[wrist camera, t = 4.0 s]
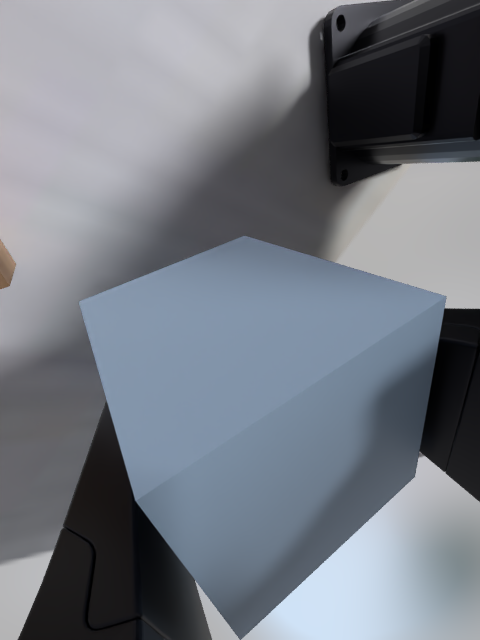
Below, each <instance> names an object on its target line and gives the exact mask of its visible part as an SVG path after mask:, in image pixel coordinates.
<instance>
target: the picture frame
mask: <svg viewBox="0 0 480 640" xmlns="http://www.w3.org/2000/svg"><path fill="white" fill-rule="evenodd" d="M15 266H16V263H15V262H14V260H13V259H12V257H11V255H10V254H9V252H8V251H7V249H6V248H5V246H4V245H3V243H2V241H1V240H0V289H2V288H5V287H8V286H10V283H11V280H12V276H13V273H14V270H15Z"/></svg>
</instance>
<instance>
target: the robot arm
mask: <svg viewBox="0 0 480 640" xmlns="http://www.w3.org/2000/svg"><path fill="white" fill-rule="evenodd" d="M336 21H337V23H338V29H337V26H336ZM324 39H325V61H326V84H327V107H328V129H329V152H330V174H331V182H332V183H333V185H335V186H345V185H348V184H351V183H353V182H356V181H358V180H361V179H364V178H366V177H369V176H372V175H374V174H377V173H379V172H382V171H385V170H387V169H390V168H393V167H395V166H398V165H400V164H410V163H443V162H474V161H475V162H477V161H480V0H391V1H381V2H371V3H361V4H351V5H341V6H339V7H337V8H335V9H333V10H331V11H330V12H329V13H328V14H327V16H326V18H325V22H324ZM341 172H342V176H341ZM340 176H341V177H340ZM419 451H420V452H421V453H422V454H423V455H425V456H426V457H427V458H428V459H429V460H431V461H432V462H433V463H434V464H435V465H437V466H438V467H439V468H440V469H441V470H443V471H444V472H445V471H446V474H447V475H448V476H449V477H451V478H452V479H453V480H454V481H455V482H457V483H458V484H459V485H460V486H461V487H463V488H464V489H465V490H466V491H468V492H469V493H470V494H471V495H472V496H473V497H475V498H476V499H477V500H478V501H480V309H446V308H444V314H443V319H442V325H441V331H440V336H439V342H438V348H437V354H436V359H435V365H434V371H433V376H432V382H431V388H430V393H429V399H428V405H427V411H426V416H425V422H424V428H423V433H422V439H421V445H420V450H419ZM63 527H64V528H63V529H62V530H61V532H60V535H59V538H58V541H57V543H56V546H55V549H54V552H53V555H52V557H51V560H50V563H49V565H48V568H47V571H46V574H45V576H44V579H43V582H42V584H41V586H40V589H39V591H38V594H37V596H36V598H35V601H34V603H33V605H32V608H31V610H30V613H29V615H28V617H27V620H26V622H25V624H24V627H23V629H22V631H21V634H20V636H19V638H18V640H212V638H211V634H210V631H209V628H208V624H207V621H206V617H205V614H204V610H203V607H202V603H201V600H200V597H199V593H198V590H197V586H196V583H195V579H194V578H193V577H192V575H191V574H190V573H189V571H188V570H187V569H186V567H185V566H184V565H183V563H182V562H181V561H180V559H179V558H178V557H177V555H176V554H175V553H174V551H173V550H172V549H171V547H170V546H169V545H168V543H167V542H166V541H165V539H164V538H163V537H162V535H161V534H160V533H159V532H158V530H157V529H156V528H155V526H154V525H153V524H152V522H151V521H150V520H149V518H148V517H147V516H146V514H145V513H144V512H143V510H142V509H141V508H140V506H139V505H138V504H137V502H136V501H135V497H134V494H133V490H132V487H131V483H130V480H129V476H128V473H127V469H126V466H125V462H124V459H123V455H122V452H121V448H120V445H119V441H118V438H117V434H116V431H115V427H114V424H113V420H112V417H111V413H110V410H109V406H108V403H107V400H106V403H105V406H104V409H103V412H102V415H101V417H100V420H99V423H98V426H97V429H96V432H95V435H94V438H93V440H92V443H91V446H90V449H89V452H88V455H87V458H86V461H85V463H84V466H83V469H82V472H81V475H80V478H79V481H78V484H77V486H76V489H75V492H74V495H73V498H72V501H71V504H70V507H69V509H68V512H67V515H66V518H65V521H64V524H63Z"/></svg>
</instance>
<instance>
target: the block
mask: <svg viewBox="0 0 480 640" xmlns="http://www.w3.org/2000/svg"><path fill="white" fill-rule="evenodd" d="M445 302H446V296H444V295H440V294H437V293H433V292H430V291H427V290H424V289H420V288H417V287H414V286H410V285H407V284H404V283H400V282H397V281H394V280H391V279H387V278H384V277H381V276H377V275H374V274H371V273H367V272H364V271H361V270H357V269H354V268H350V267H347V266H344V265H340V264H337V263H334V262H331V261H327V260H324V259H321V258H317V257H314V256H311V255H307V254H304V253H301V252H297V251H294V250H291V249H287V248H284V247H281V246H277V245H274V244H271V243H267V242H264V241H261V240H258V239H254V238H251V237H248V236H242V237H240V238H237V239H235V240H232V241H230V242H227V243H225V244H222V245H220V246H217V247H215V248H212V249H210V250H207V251H204V252H202V253H199V254H197V255H194V256H192V257H189V258H187V259H184V260H182V261H179V262H177V263H174V264H172V265H169V266H167V267H164V268H162V269H159V270H157V271H154V272H152V273H149V274H147V275H144V276H142V277H139V278H137V279H134V280H132V281H129V282H127V283H124V284H122V285H119V286H117V287H114V288H112V289H109V290H107V291H104V292H101V293H99V294H96V295H94V296H91V297H89V298H86V299H84V300H81V301H79V305H80V309H81V312H82V316H83V319H84V323H85V326H86V330H87V333H88V336H89V340H90V343H91V347H92V350H93V354H94V357H95V361H96V364H97V368H98V371H99V375H100V378H101V382H102V385H103V389H104V392H105V396H106V399H107V403H108V406H109V410H110V413H111V417H112V420H113V424H114V427H115V431H116V434H117V438H118V441H119V445H120V448H121V452H122V455H123V459H124V462H125V466H126V469H127V473H128V476H129V480H130V483H131V487H132V490H133V494H134V497H135V501H136V502H137V504H138V505H139V506H140V508H141V509H142V510H143V512H144V513H145V514H146V516H147V517H148V518H149V520H150V521H151V522H152V524H153V525H154V526H155V528H156V529H157V530H158V532H159V533H160V534H161V535H162V537H163V538H164V539H165V541H166V542H167V543H168V545H169V546H170V547H171V549H172V550H173V551H174V553H175V554H176V555H177V557H178V558H179V559H180V561H181V562H182V563H183V565H184V566H185V567H186V569H187V570H188V571H189V573H190V574H191V575H192V577H193V578H194V579H195V581H196V582H197V583H198V585H199V586H200V587H201V588H202V590H203V591H204V593H205V594H206V595H207V596H208V598H209V599H210V601H211V602H212V603H213V604H214V606H215V607H216V608H217V610H218V611H219V612H220V614H221V615H222V616H223V617H224V619H225V620H226V622H227V623H228V624H229V625H230V627H231V628H232V629H233V631H234V632H235V634H236V635H237V636H238V638H239V639H240V640H241V639H242V638H243V637H244V636H245V635H246V634H247V633H249V632H250V631H251V630H252V629H253V628H254V627H255V626H256V625H257V624H258V623H259V622H260V621H261V620H262V619H264V618H265V617H266V616H267V615H268V614H269V613H270V612H271V611H272V610H273V609H274V608H275V607H276V606H277V605H278V604H279V603H281V602H282V601H283V600H284V599H285V598H286V597H287V596H288V595H289V594H290V593H291V592H292V591H293V590H295V589H296V588H297V587H298V586H299V585H300V584H301V583H302V582H303V581H304V580H305V579H306V578H307V577H308V576H309V575H311V574H312V573H313V571H315V570H316V569H317V568H318V567H319V566H320V565H321V564H322V563H323V562H324V561H325V560H326V559H328V558H329V557H330V556H331V555H332V554H333V553H334V552H335V551H336V550H337V549H338V548H339V547H340V546H341V545H343V544H344V543H345V541H347V540H348V539H349V538H350V537H351V536H352V535H353V534H354V533H355V532H356V531H357V530H358V529H360V528H361V527H362V526H363V525H364V524H365V523H366V522H367V521H368V520H369V519H370V518H371V517H372V516H374V514H376V513H377V512H378V511H379V510H380V509H381V508H382V507H383V506H384V505H385V504H386V503H387V502H388V501H389V500H390V499H392V498H393V497H394V496H395V495H396V494H397V493H398V492H399V491H400V490H401V489H402V488H403V487H404V486H405V485H406V484H408V483H409V482H410V481H411V480H412V479H413V478H414V477H415V473H416V467H417V462H418V456H419V450H420V445H421V439H422V433H423V428H424V422H425V416H426V411H427V405H428V399H429V393H430V388H431V382H432V376H433V371H434V365H435V359H436V354H437V348H438V342H439V336H440V331H441V325H442V319H443V314H444V308H445Z"/></svg>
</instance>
